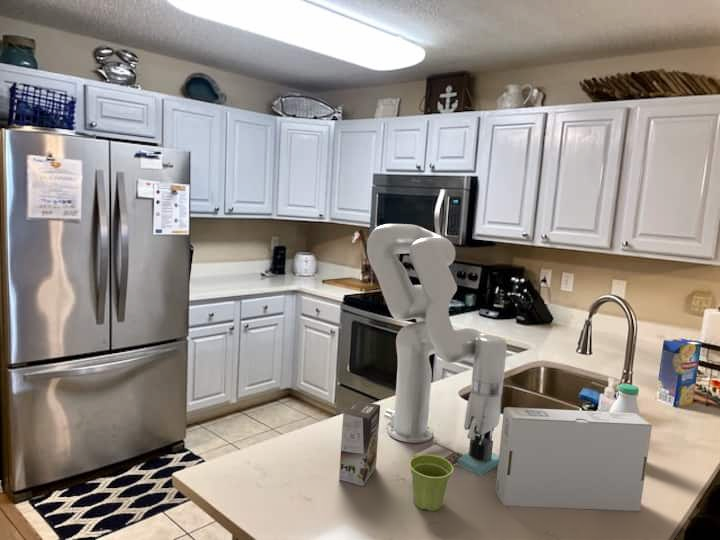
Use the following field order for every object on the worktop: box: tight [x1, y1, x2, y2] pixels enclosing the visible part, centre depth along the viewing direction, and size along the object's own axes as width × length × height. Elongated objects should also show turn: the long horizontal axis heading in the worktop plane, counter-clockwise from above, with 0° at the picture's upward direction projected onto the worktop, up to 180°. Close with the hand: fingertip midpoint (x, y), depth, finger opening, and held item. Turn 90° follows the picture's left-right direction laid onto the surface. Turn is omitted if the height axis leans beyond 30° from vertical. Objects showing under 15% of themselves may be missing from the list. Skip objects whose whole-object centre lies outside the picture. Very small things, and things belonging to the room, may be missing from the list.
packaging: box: [495, 406, 653, 512], centre depth 112 cm, size 30×6×20 cm, turn 92°
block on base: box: [456, 434, 499, 476], centre depth 127 cm, size 7×10×6 cm
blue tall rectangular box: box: [655, 338, 702, 408], centre depth 179 cm, size 7×11×22 cm, turn 117°
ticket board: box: [412, 442, 463, 466], centre depth 127 cm, size 8×10×2 cm
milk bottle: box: [609, 383, 642, 418], centre depth 134 cm, size 8×8×20 cm
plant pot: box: [408, 455, 454, 512], centre depth 108 cm, size 9×9×9 cm
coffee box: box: [338, 400, 381, 487], centre depth 118 cm, size 9×6×16 cm
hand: (480, 455), depth 127 cm, fingers closed on block on base, 2 cm apart
